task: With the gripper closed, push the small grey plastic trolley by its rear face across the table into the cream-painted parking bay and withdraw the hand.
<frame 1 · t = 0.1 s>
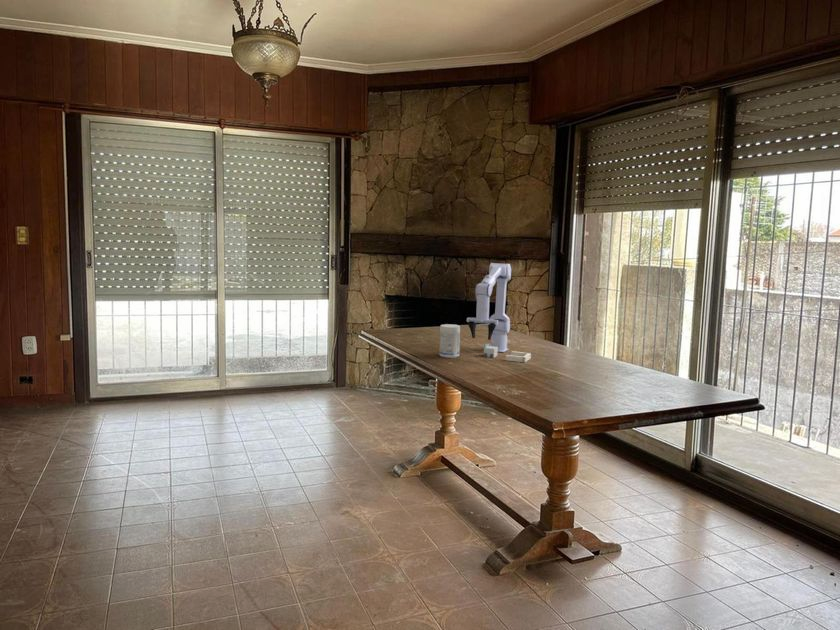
hand: (481, 338, 293), 10 cm above the table, fingers open, 7 cm apart
supplement tub: (449, 356, 301), on the table
trolley: (490, 356, 304), on the table
bay: (516, 359, 299), on the table
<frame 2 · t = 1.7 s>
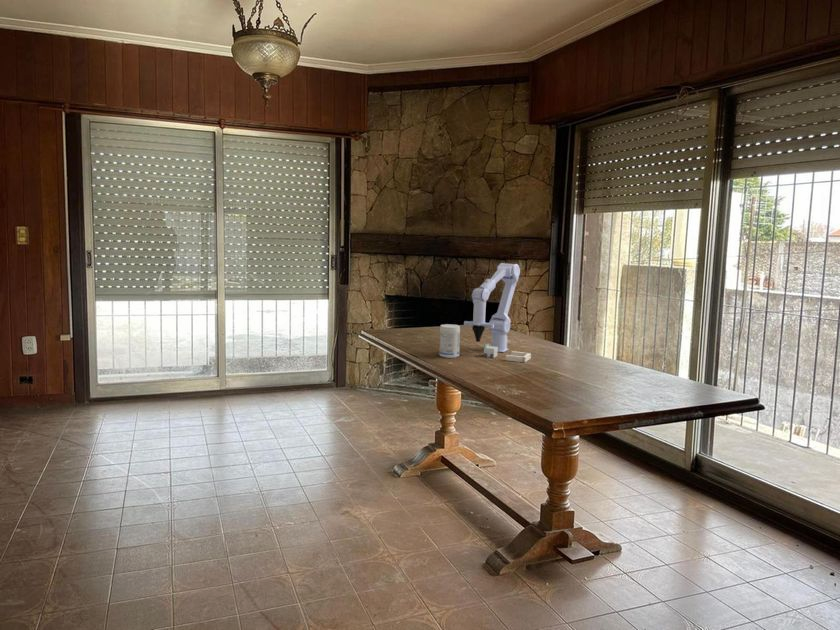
hand: (478, 341, 306), 7 cm above the table, fingers closed
nothing on the table moved.
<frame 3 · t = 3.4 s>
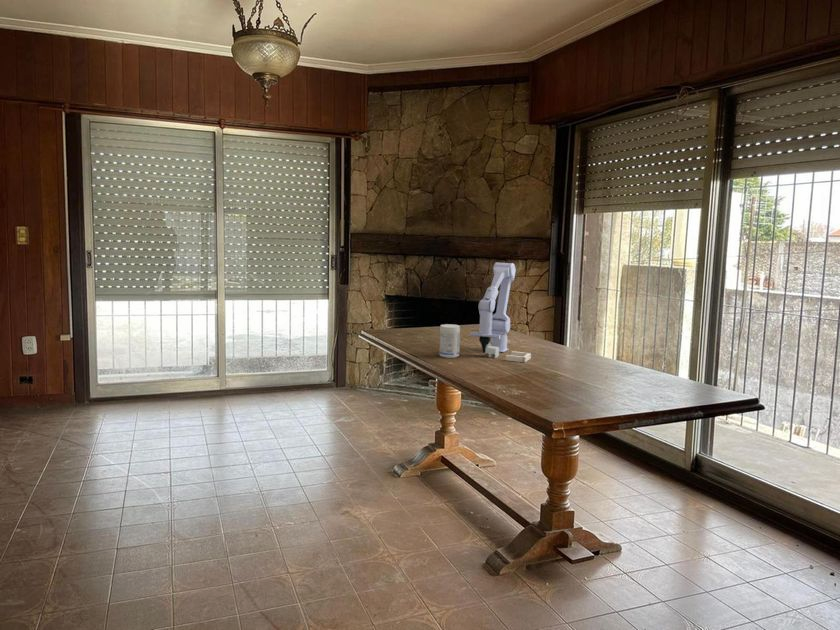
hand: (484, 352, 305), 1 cm above the table, fingers closed
trolley: (491, 356, 304), on the table, touching gripper
everything else where it was.
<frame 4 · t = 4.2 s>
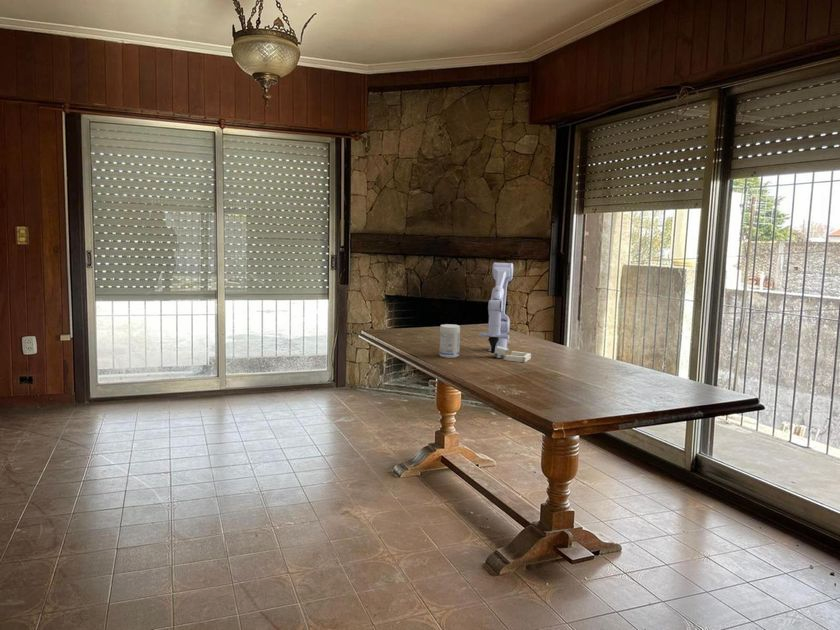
hand: (493, 352, 303), 2 cm above the table, fingers closed, pressing on trolley
trolley: (499, 356, 303), on the table, tilted 8°, touching gripper
everything else where it was.
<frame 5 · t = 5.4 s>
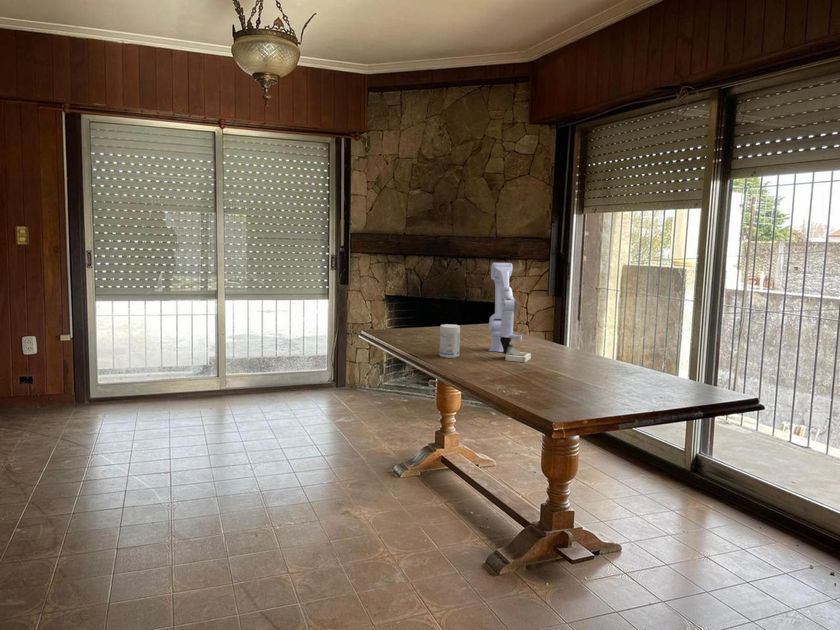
hand: (505, 353, 300), 2 cm above the table, fingers closed, pressing on trolley
trolley: (509, 357, 301), point 1 cm above the table, tilted 21°, touching bay, gripper
everything else where it was.
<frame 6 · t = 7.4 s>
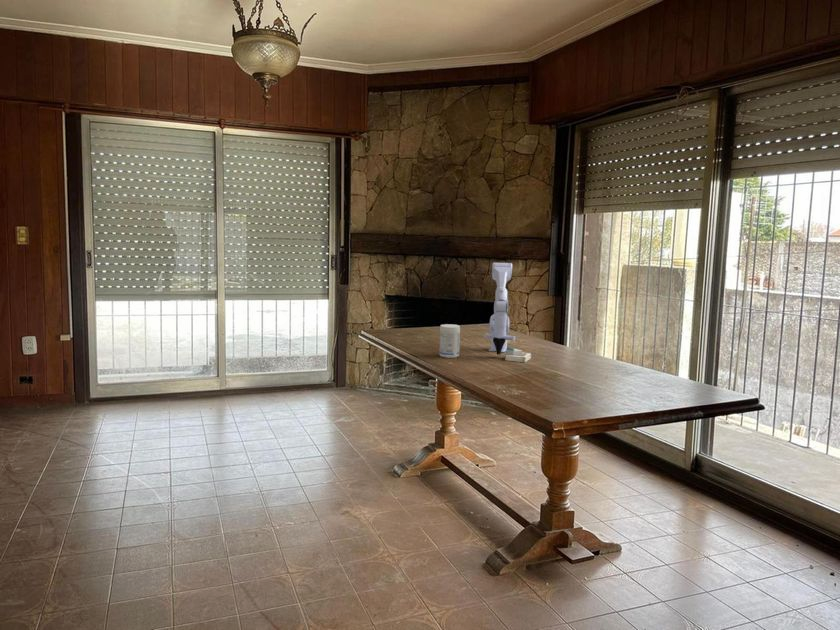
hand: (498, 354, 303), 1 cm above the table, fingers closed
trolley: (513, 359, 300), on the table
everything else where it was.
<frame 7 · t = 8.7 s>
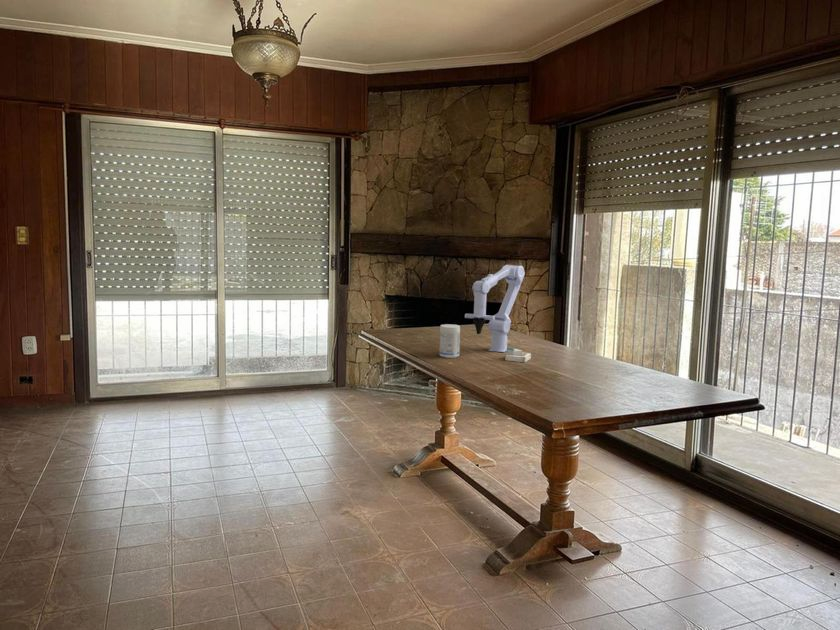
hand: (478, 333, 308), 10 cm above the table, fingers closed
nothing on the table moved.
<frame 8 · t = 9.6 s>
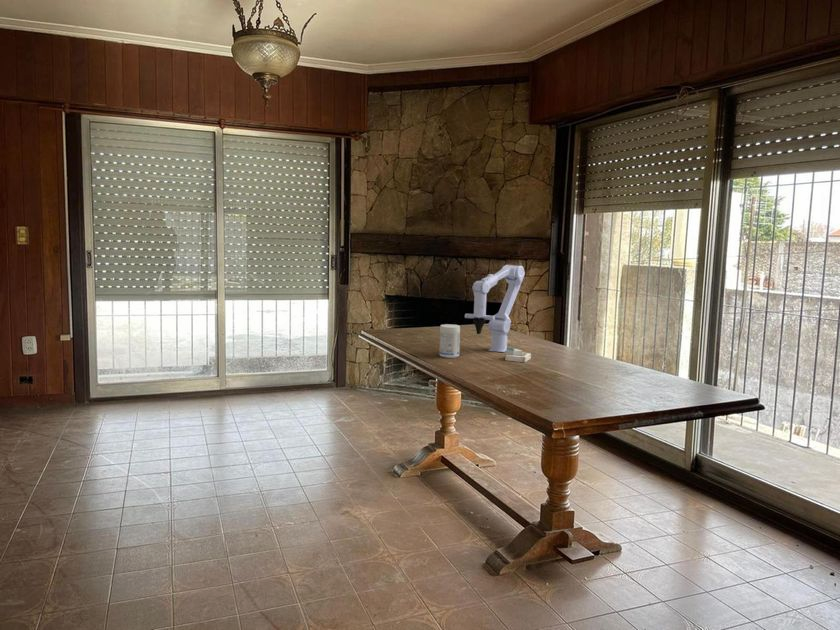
hand: (478, 333, 308), 10 cm above the table, fingers closed
nothing on the table moved.
at the end: trolley 1.7 cm off-centre on the bay, point 0.0 cm above the bay's base; trolley tilted 0° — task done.
